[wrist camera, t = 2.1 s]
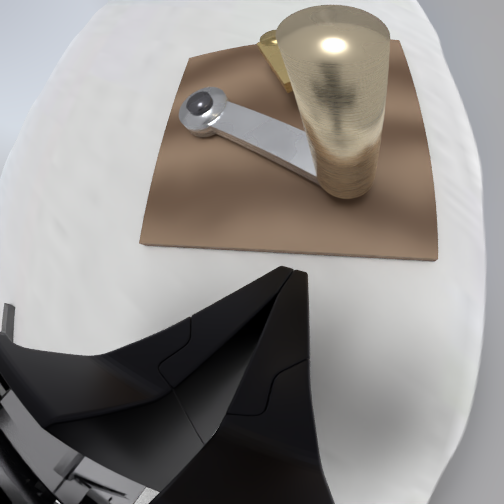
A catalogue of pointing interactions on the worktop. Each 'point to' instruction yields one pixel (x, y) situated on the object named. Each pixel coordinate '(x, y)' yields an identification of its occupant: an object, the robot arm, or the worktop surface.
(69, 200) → the worktop surface
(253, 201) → the walnut board
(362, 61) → the beige lever tool
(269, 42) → the plate
